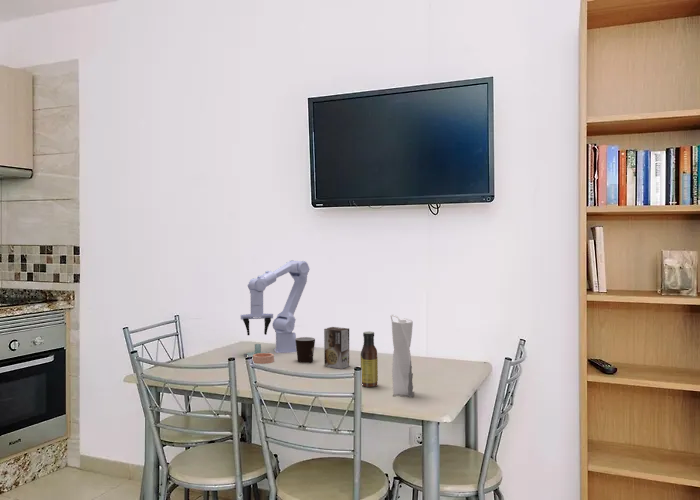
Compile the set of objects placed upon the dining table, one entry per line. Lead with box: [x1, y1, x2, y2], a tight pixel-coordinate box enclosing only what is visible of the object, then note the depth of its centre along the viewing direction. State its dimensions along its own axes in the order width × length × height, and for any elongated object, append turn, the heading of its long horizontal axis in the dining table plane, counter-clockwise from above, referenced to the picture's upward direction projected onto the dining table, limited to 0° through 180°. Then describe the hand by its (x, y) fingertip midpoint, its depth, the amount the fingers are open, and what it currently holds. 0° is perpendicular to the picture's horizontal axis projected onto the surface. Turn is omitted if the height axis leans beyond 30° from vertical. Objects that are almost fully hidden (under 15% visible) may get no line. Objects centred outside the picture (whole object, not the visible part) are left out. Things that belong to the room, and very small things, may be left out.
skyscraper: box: [390, 314, 415, 398], centre depth 205 cm, size 8×8×28 cm
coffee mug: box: [295, 336, 316, 364], centre depth 256 cm, size 12×9×10 cm
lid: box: [246, 343, 268, 357], centre depth 266 cm, size 9×9×5 cm
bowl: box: [252, 352, 275, 365], centre depth 254 cm, size 9×9×3 cm
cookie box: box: [323, 326, 350, 370], centre depth 246 cm, size 9×6×16 cm
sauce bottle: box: [360, 330, 379, 388], centre depth 216 cm, size 7×6×20 cm
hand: (257, 334), depth 265 cm, fingers open, 7 cm apart
